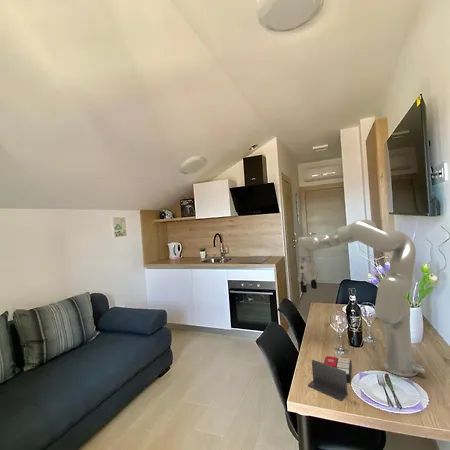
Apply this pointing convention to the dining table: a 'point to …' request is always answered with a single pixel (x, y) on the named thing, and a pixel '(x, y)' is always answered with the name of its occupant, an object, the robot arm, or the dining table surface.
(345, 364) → the red and tan block
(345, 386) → the bookend
